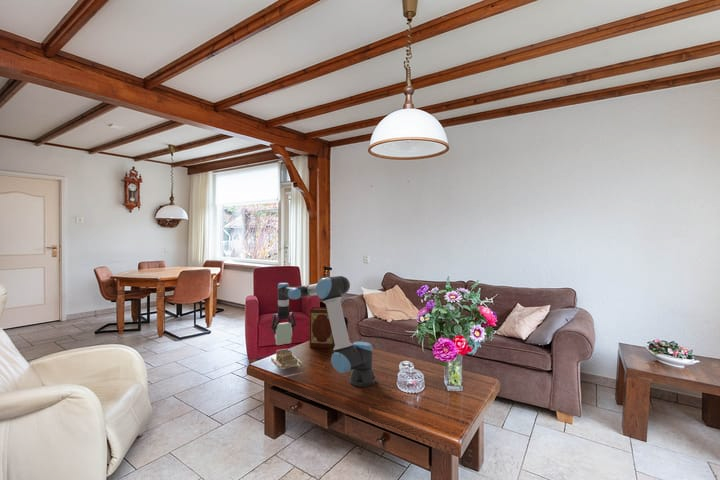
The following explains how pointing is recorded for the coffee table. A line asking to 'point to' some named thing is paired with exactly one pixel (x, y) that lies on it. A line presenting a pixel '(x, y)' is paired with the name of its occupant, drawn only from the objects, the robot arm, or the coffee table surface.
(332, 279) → the robot arm
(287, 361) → the rack
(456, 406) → the coffee table surface
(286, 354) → the offcut oak
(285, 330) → the sage board
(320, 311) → the decorative book
